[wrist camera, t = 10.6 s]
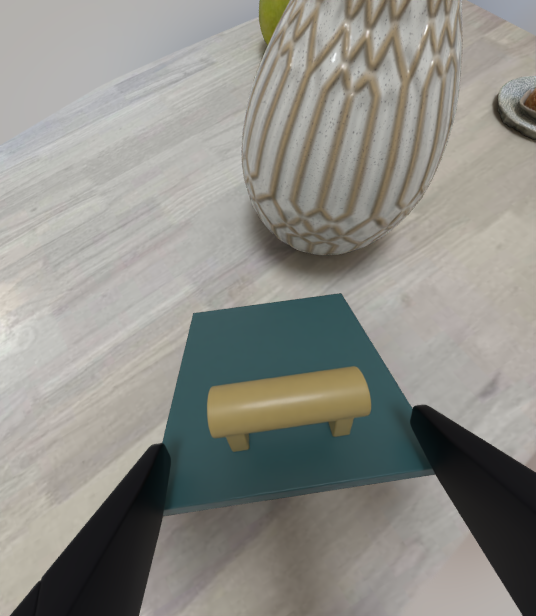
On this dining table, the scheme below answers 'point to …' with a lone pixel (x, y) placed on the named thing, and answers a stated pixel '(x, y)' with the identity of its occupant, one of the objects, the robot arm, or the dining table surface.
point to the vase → (350, 117)
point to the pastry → (519, 105)
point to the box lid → (284, 408)
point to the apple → (270, 16)
